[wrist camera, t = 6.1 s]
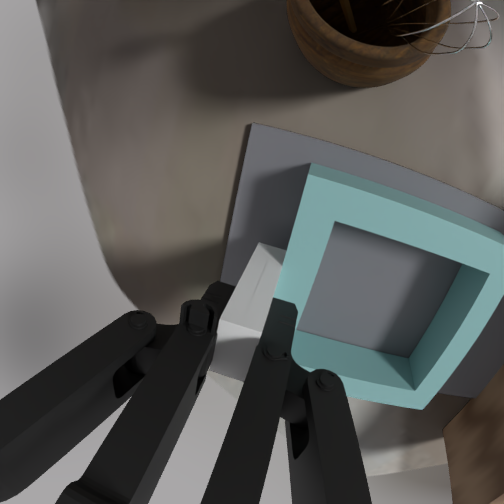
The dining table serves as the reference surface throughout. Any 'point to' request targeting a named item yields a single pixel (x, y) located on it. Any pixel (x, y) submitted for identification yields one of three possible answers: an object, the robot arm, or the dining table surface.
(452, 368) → the socket frame
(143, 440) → the robot arm
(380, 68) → the utensil holder
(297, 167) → the grey flat plate
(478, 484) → the backstop wall
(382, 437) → the dining table surface
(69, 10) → the dining table surface
